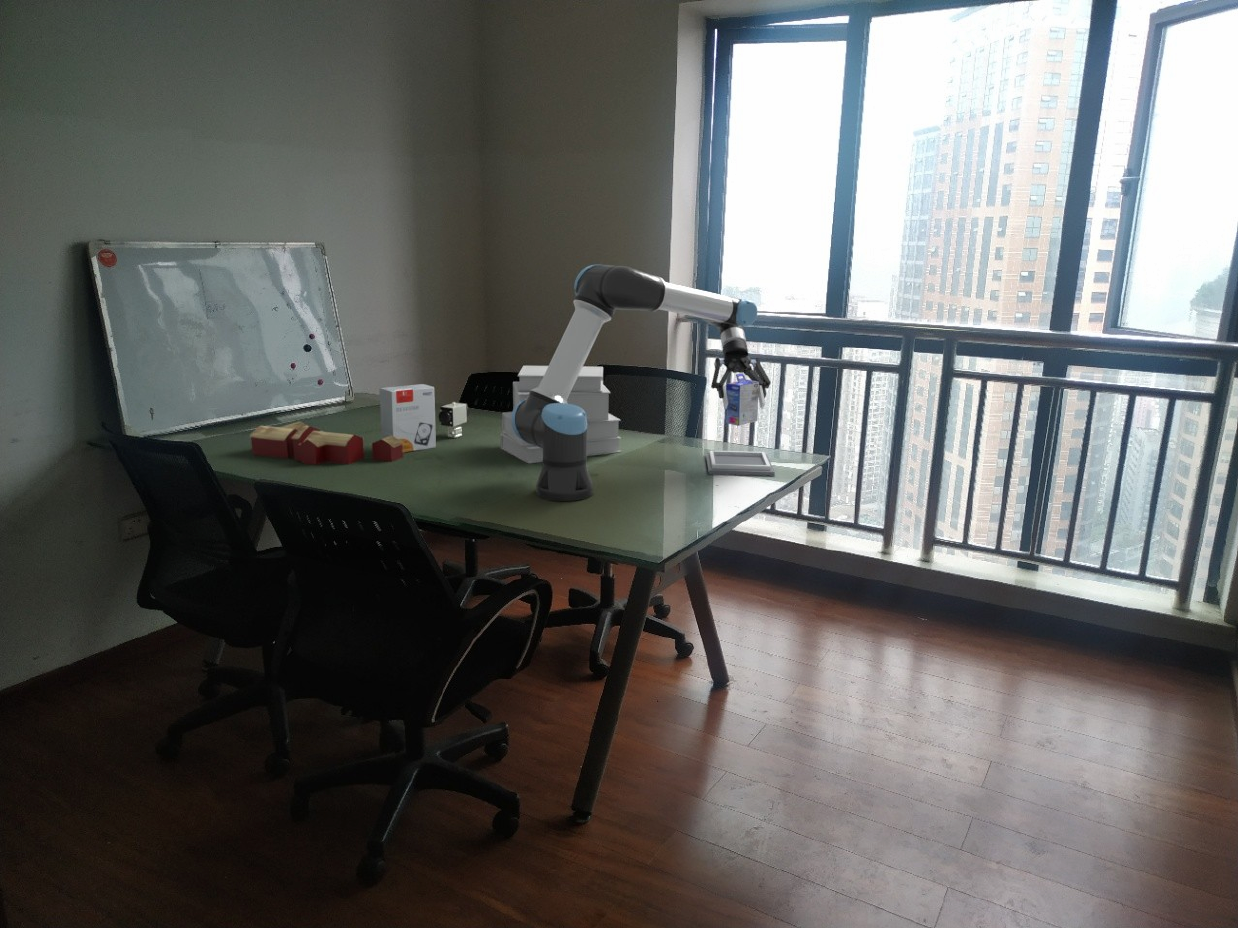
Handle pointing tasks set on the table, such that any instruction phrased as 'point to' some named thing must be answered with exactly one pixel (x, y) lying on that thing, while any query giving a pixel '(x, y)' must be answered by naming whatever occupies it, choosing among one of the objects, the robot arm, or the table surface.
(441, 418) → the pneumatic valve
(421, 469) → the table surface
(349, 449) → the toy houses
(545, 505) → the table surface
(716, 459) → the dock board
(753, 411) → the ink cartridge box
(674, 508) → the table surface
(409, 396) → the hard drive box
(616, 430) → the book stack
